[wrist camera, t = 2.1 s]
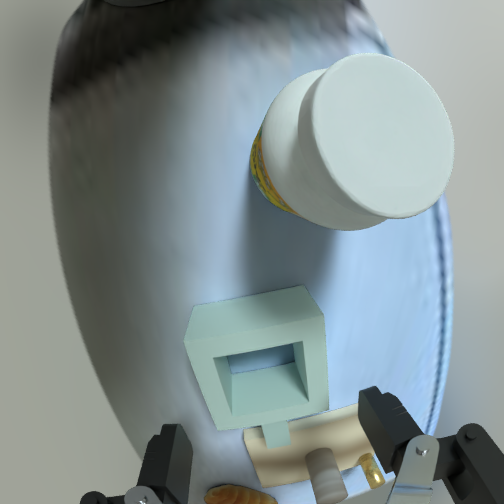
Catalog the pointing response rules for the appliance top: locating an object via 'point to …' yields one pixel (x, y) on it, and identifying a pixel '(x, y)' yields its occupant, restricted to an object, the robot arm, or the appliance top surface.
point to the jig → (312, 453)
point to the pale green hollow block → (268, 379)
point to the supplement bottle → (354, 144)
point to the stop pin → (371, 470)
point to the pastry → (237, 496)
